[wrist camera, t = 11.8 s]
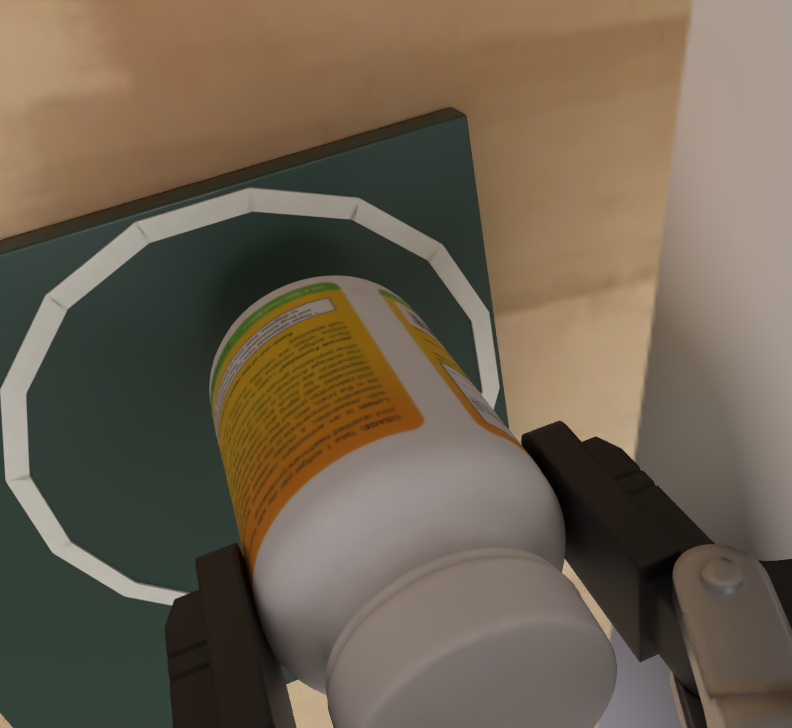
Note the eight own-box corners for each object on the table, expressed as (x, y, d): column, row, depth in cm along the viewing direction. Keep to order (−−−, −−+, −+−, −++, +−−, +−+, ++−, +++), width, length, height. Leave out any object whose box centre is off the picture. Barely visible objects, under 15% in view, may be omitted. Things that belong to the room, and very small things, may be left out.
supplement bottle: (188, 460, 18) (253, 883, 10) (230, 251, 16) (356, 583, 8) (392, 469, 20) (577, 822, 12) (453, 286, 18) (728, 574, 10)
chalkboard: (452, 106, 21) (469, 114, 20) (519, 565, 31) (532, 584, 30) (-297, 327, 17) (-319, 349, 17) (59, 756, 28) (57, 784, 27)
